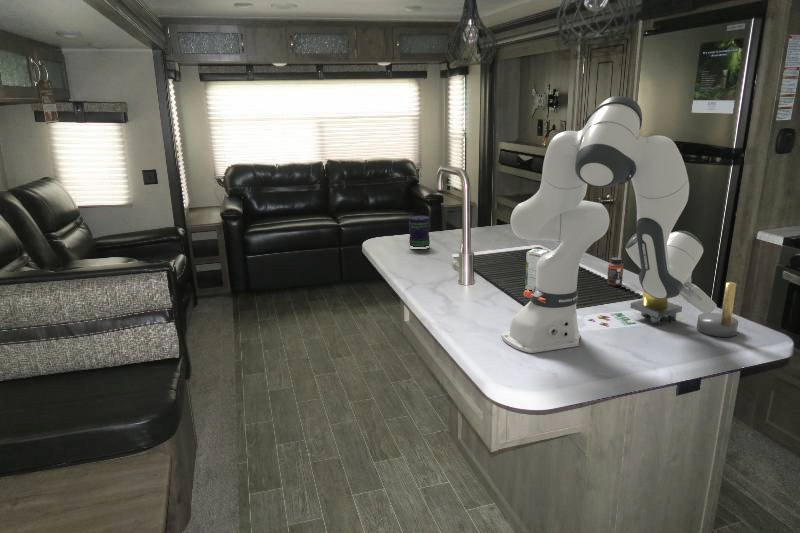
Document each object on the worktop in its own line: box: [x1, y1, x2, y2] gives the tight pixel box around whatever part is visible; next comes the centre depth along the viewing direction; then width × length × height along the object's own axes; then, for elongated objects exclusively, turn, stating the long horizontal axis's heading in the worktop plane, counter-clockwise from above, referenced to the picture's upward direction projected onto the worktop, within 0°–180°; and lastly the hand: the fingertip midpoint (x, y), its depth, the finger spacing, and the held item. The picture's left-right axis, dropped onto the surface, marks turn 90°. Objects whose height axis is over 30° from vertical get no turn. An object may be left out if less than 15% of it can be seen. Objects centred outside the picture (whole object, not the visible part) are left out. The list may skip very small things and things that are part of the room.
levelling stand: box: [630, 289, 683, 327], centre depth 163 cm, size 10×10×16 cm
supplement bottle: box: [606, 256, 624, 287], centre depth 197 cm, size 5×5×10 cm
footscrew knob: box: [696, 281, 739, 338], centre depth 153 cm, size 10×10×15 cm
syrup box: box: [524, 248, 549, 292], centre depth 194 cm, size 6×6×14 cm
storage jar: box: [408, 215, 431, 247], centre depth 260 cm, size 10×10×15 cm
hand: (705, 310), depth 149 cm, fingers closed
